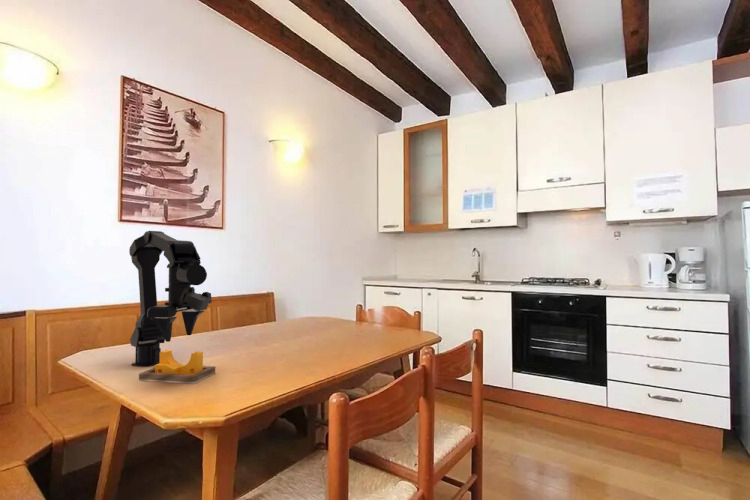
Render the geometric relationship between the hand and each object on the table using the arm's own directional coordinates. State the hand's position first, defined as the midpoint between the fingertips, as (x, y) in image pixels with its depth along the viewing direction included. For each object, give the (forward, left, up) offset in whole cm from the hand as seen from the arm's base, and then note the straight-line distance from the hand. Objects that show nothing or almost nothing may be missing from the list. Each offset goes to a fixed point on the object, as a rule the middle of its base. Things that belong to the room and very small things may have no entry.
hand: (179, 338), depth 112 cm
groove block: (0, 0, -11) cm, 11 cm away
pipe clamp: (0, 0, -11) cm, 11 cm away
